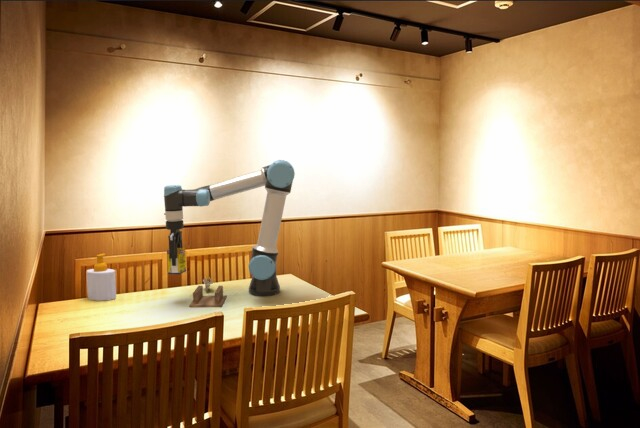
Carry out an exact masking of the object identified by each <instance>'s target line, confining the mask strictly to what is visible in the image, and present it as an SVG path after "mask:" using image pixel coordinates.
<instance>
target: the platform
mask: <svg viewBox="0 0 640 428" xmlns="http://www.w3.org/2000/svg"><path fill="white" fill-rule="evenodd" d="M202 282H203V283H204V285H205V291H206V293H207V294H208V292H209V290H210V289H211V288H210V287H211V285H213V284H214V282H213V280H212V279H211V277H210V276H205V278H203V279H202Z"/></svg>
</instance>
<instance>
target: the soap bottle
mask: <svg viewBox="0 0 640 428" xmlns="http://www.w3.org/2000/svg"><path fill="white" fill-rule="evenodd" d="M105 256H106V253H100V254H96V263H95V264H94V265H93V268H90V269H87V270H86V289H87V290H86V291H87V298H88V300H90V301H97V302H98V301H99V302H105V301H106V302H107V301H112V300H114V299H115V300H116V298H117V288H116V287H117V285H116V284H117V283H116V270H115V269H112V268H108V265H107V263H106V262H104V257H105Z"/></svg>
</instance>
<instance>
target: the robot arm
mask: <svg viewBox="0 0 640 428" xmlns="http://www.w3.org/2000/svg"><path fill="white" fill-rule="evenodd" d="M295 175H296V173H295V169H294V167H293V165H292V164H291V163H290V162H289V161H287V160H284V159H283V160H282V159H278V160H274V161H273V162H271V163H270V164H269V165H266V166H263V167H262V168H261V169H259V170H257V171H253V172H250V173H246V174H242V175H239V176H236V177H232V178H228V179H225V180H222V181H218V182H215V183H211V184H209V185H204V186H201V187H198V188H194V189H183V188H182V186H181V185H179V184H175V185H174V184H172V185H166V186H164V188H163V197H164V198H163V199H164V213H163V215H164V217H165V220H166V221H165V229H166V230H169V231H170V233H169V235H168V250H169V259H171V268H172V273H178V258H177V248H184V245H183V237H182V236H183V235H182V233H183V231H182V229H184V226H185V225H184V220H183V219H184V211H183V210H184V208H183V207H208V206H210V203H211V202H213V201H216V200H219V199H223V198H225V197H230V196H234V195H237V194H240V193H243V192H248V191H250V190H254V189H258V188H262V187H264V188H265V190H266V192H267V193H266V196H265V202H264V207H263V212H262V216H261V217H262V218H261V222H260V228H259V232H258V238H257V241H256V242H257V243H256V244H254V245H252V247H251V255H250V261H249V263H248V270H249V273H250V275H251V280H250V282H249V287H248V293H249V294H250V295H253V296H258V297H267V296H274V295H275V296H276V295H277V294H279V293H280V292H281V287H280V285H281V284H280V282H279V280H278V277H277V276H278V275H277V260H278V255H279V250H278V248H277V244H278V239H279V233H280V229H281V224H282V220H283V219H282V218H283V214H284V209H285V203H286V198H287V197H288V195H289V194H291V192H292V187H293V183H294V182H293V181H294V179H295Z"/></svg>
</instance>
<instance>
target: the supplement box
mask: <svg viewBox="0 0 640 428" xmlns="http://www.w3.org/2000/svg"><path fill="white" fill-rule="evenodd" d="M166 258H167V272H168V273H167V274H168V275H181V274H183V273H186V272H187V264H186V248H185V247H183V248H177V258H178V273H172V268H171V259H169V249H167V250H166Z"/></svg>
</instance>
